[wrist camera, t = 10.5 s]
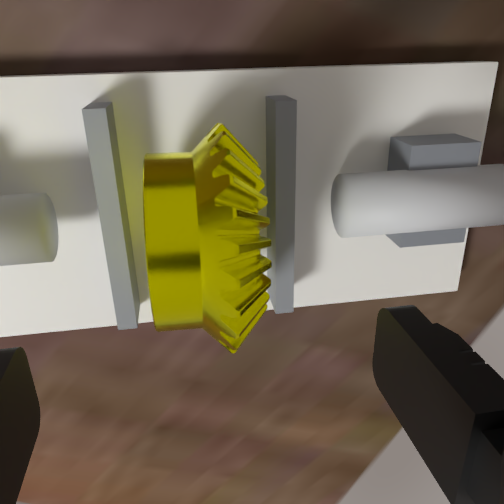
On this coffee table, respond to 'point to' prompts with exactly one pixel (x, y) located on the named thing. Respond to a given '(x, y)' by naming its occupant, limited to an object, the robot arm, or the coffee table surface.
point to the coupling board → (272, 172)
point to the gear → (206, 239)
